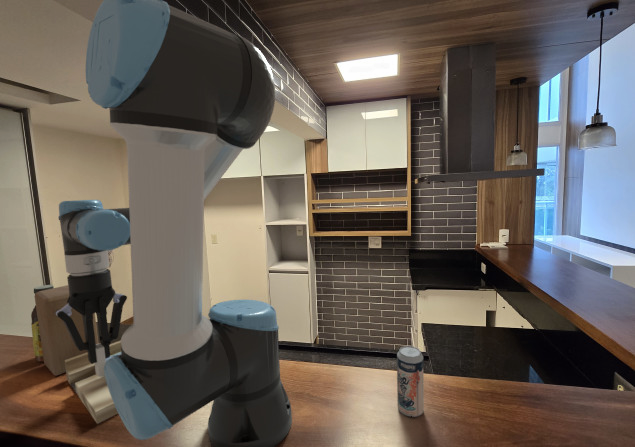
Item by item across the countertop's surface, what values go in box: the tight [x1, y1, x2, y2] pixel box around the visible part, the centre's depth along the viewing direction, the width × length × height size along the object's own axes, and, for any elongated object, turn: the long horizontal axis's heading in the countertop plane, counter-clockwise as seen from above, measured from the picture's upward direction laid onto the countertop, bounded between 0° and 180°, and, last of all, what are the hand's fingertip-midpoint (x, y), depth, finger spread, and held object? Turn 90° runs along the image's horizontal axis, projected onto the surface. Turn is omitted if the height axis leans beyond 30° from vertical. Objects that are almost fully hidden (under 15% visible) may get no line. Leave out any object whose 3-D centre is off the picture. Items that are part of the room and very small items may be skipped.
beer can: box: [396, 345, 424, 418], centre depth 59 cm, size 5×5×12 cm
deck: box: [64, 339, 121, 425], centre depth 71 cm, size 23×12×5 cm, turn 50°
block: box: [34, 284, 100, 376], centre depth 81 cm, size 10×10×20 cm
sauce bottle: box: [30, 284, 55, 363], centre depth 84 cm, size 6×6×20 cm
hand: (101, 373), depth 69 cm, fingers closed
